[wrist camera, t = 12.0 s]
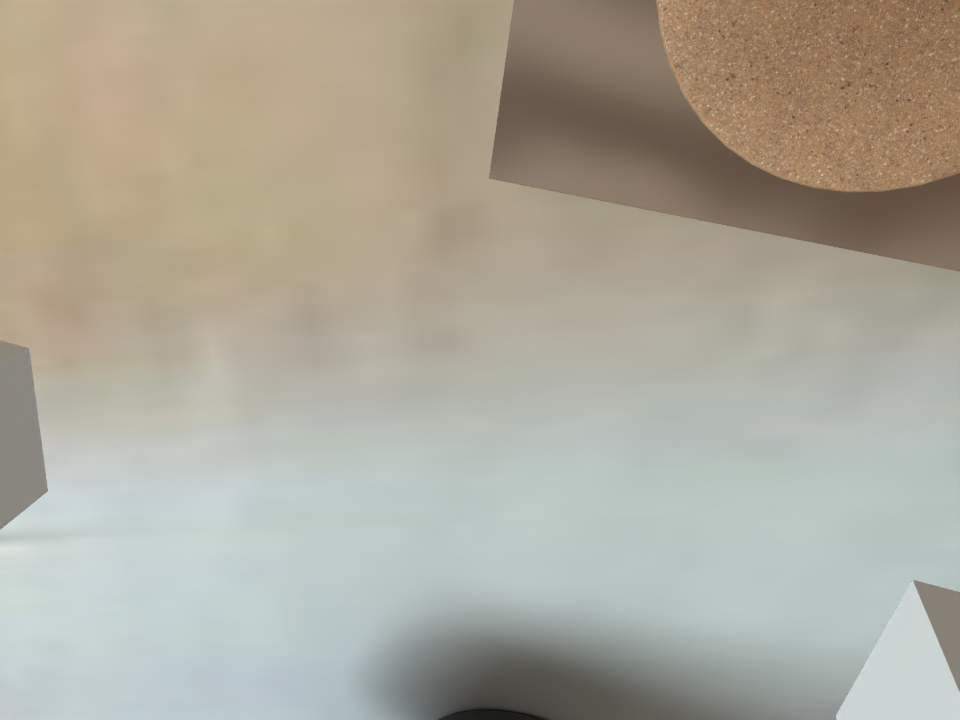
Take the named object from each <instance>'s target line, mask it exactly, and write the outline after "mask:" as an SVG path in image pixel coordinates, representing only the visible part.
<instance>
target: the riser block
mask: <svg viewBox="0 0 960 720" xmlns="http://www.w3.org/2000/svg"><path fill="white" fill-rule="evenodd" d="M489 179H494V180H499V181H504V182H509V183H514V184H519V185H524V186H529V187H535V188H540V189H545V190H550V191H555V192H560V193H565V194H570V195H575V196H580V197H585V198H590V199H595V200H600V201H606V202H611V203H616V204H621V205H626V206H631V207H636V208H641V209H646V210H651V211H656V212H661V213H666V214H671V215H677V216H682V217H687V218H692V219H697V220H702V221H707V222H712V223H717V224H722V225H727V226H732V227H737V228H743V229H748V230H753V231H758V232H763V233H768V234H773V235H778V236H783V237H788V238H793V239H798V240H803V241H808V242H814V243H819V244H824V245H829V246H834V247H839V248H844V249H849V250H854V251H859V252H864V253H869V254H874V255H879V256H885V257H890V258H895V259H900V260H905V261H910V262H915V263H920V264H925V265H930V266H935V267H940V268H945V269H950V270H956V271H960V174H958V175H955V176H951V177H948V178H944V179H941V180H938V181H934V182H931V183H927V184H924V185H921V186H916V187H909V188H903V189H896V190H890V191H883V192H840V191H833V190H825V189H818V188H811V187H808V186H804V185H801V184H798V183H794V182H791V181H787V180H784V179H781V178H778V177H776V176H774V175H772V174H770V173H768V172H766V171H764V170H762V169H760V168H758V167H756V166H754V165H751V164H750V163H749V162H747V161H746V160H744V159H743V158H742V157H740V156H739V155H737V154H736V153H734V152H733V151H732V150H730V149H729V148H727V147H726V146H725V145H724V144H723V143H722V142H721V141H720V140H719V139H718V138H717V137H716V136H715V135H714V134H713V133H712V132H711V131H710V130H709V129H708V128H707V127H706V126H705V125H704V124H703V123H702V121H701V120H700V119H699V117H698V116H697V114H696V113H695V111H694V110H693V109H692V107H691V106H690V104H689V103H688V101H687V100H686V99H685V97H684V95H683V93H682V91H681V89H680V87H679V85H678V83H677V81H676V78H675V76H674V74H673V72H672V70H671V68H670V65H669V62H668V58H667V55H666V52H665V48H664V45H663V41H662V38H661V34H660V28H659V20H658V12H657V4H656V0H514V6H513V13H512V20H511V27H510V34H509V41H508V48H507V55H506V63H505V70H504V77H503V84H502V91H501V98H500V105H499V112H498V119H497V127H496V134H495V141H494V148H493V155H492V162H491V169H490V176H489Z"/></svg>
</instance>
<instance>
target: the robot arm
mask: <svg viewBox="0 0 960 720" xmlns="http://www.w3.org/2000/svg"><path fill="white" fill-rule="evenodd" d="M47 491H48V488H47V481H46V473H45V466H44V458H43V450H42V443H41V435H40V428H39V420H38V413H37V405H36V397H35V390H34V382H33V375H32V367H31V360H30V352H29V348H26V347H22V346H18V345H15V344H11V343H7V342H3V341H0V529H2V528H3V527H4V526H5V525H7V524H8V523H9V522H10V521H12V520H13V519H14V518H15V517H17V516H18V515H19V514H20V513H21V512H23V511H24V510H25V509H26V508H28V507H29V506H30V505H31V504H33V503H34V502H35V501H36V500H37V499H39V498H40V497H41V496H42V495H44V494H45V493H46V492H47ZM835 717H836V720H960V592H957V591H953V590H949V589H946V588H942V587H938V586H934V585H930V584H926V583H923V582H919V581H915V580H912V582H911V584H910V585H909V587H908V589H907V591H906V592H905V594H904V596H903V598H902V599H901V601H900V603H899V605H898V607H897V608H896V610H895V612H894V614H893V615H892V617H891V619H890V621H889V623H888V624H887V626H886V628H885V630H884V631H883V633H882V635H881V637H880V638H879V640H878V642H877V644H876V646H875V647H874V649H873V651H872V653H871V654H870V656H869V658H868V660H867V661H866V663H865V665H864V667H863V669H862V670H861V672H860V674H859V676H858V677H857V679H856V681H855V683H854V685H853V686H852V688H851V690H850V692H849V693H848V695H847V697H846V699H845V700H844V702H843V704H842V706H841V708H840V709H839V711H838V713H837V715H836V716H835ZM440 720H540V719H537V718H534V717H530V716H527V715H522V714H518V713H512V712H505V711H493V710H479V711H468V712H462V713H457V714H453V715H450V716H447V717H444V718H442V719H440Z"/></svg>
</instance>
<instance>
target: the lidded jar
mask: <svg viewBox="0 0 960 720" xmlns="http://www.w3.org/2000/svg"><path fill="white" fill-rule="evenodd" d="M656 4H657V12H658V20H659V28H660V34H661V38H662V41H663V45H664V48H665V52H666V55H667V58H668V62H669V65H670V68H671V70H672V72H673V74H674V76H675V78H676V81H677V83H678V85H679V87H680V89H681V91H682V93H683V95H684V97H685V99H686V100H687V101H688V103H689V104H690V106H691V107H692V109H693V110H694V111H695V113H696V114H697V116H698V117H699V119H700V120H701V121H702V123H703V124H704V125H705V126H706V127H707V128H708V129H709V130H710V131H711V132H712V133H713V134H714V135H715V136H716V137H717V138H718V139H719V140H720V141H721V142H722V143H723V144H724V145H725V146H726V147H727V148H729V149H730V150H732V151H733V152H734V153H736V154H737V155H739V156H740V157H742V158H743V159H744V160H746V161H747V162H749V163H750V164H751V165H754V166H756V167H758V168H760V169H762V170H764V171H766V172H768V173H770V174H772V175H774V176H776V177H778V178H781V179H784V180H787V181H791V182H794V183H798V184H801V185H804V186H808V187H811V188H818V189H825V190H833V191H840V192H883V191H890V190H896V189H903V188H909V187H916V186H921V185H924V184H927V183H931V182H934V181H938V180H941V179H944V178H948V177H951V176H955V175H958V174H960V0H656Z"/></svg>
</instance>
